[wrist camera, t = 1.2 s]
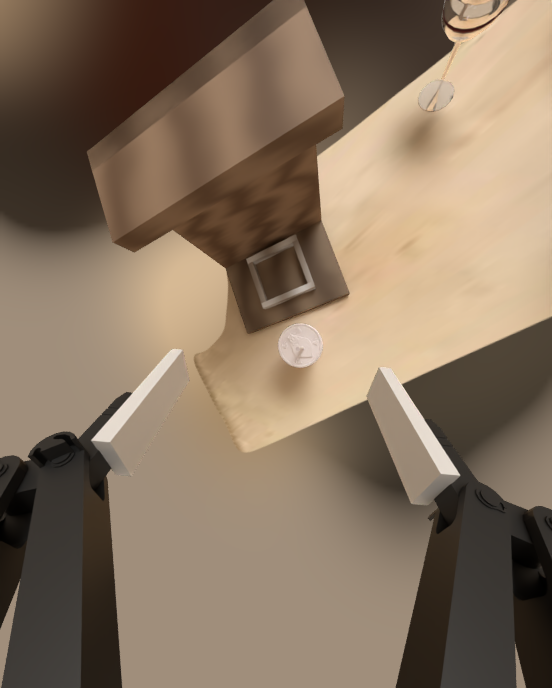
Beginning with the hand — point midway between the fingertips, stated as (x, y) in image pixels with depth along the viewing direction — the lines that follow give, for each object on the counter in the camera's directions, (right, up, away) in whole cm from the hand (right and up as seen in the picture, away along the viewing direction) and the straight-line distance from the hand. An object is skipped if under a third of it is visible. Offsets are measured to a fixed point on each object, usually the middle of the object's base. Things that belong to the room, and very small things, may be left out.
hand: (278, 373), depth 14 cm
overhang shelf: (+1, +15, +25) cm, 29 cm away
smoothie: (+6, +2, +24) cm, 25 cm away
